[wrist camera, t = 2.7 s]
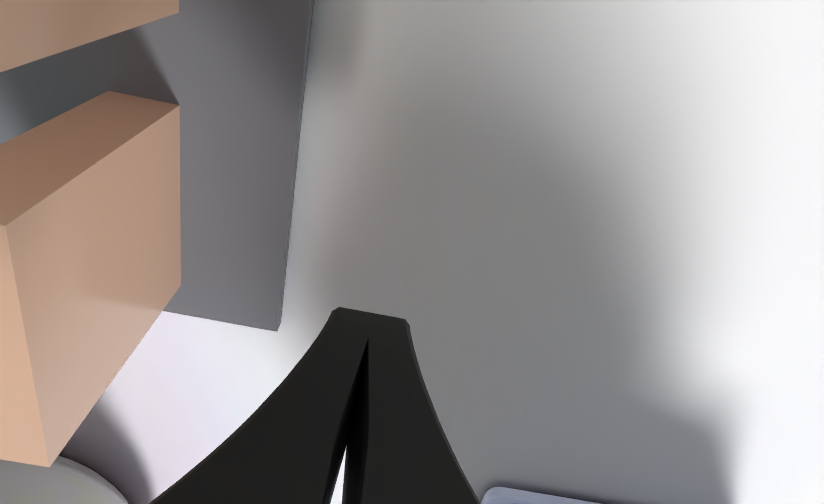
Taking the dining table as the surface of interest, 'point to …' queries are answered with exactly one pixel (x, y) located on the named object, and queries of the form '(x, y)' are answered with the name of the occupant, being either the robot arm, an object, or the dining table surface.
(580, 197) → the dining table surface
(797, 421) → the dining table surface
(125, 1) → the tile
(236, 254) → the mat
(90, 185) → the tile
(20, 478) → the teacup
